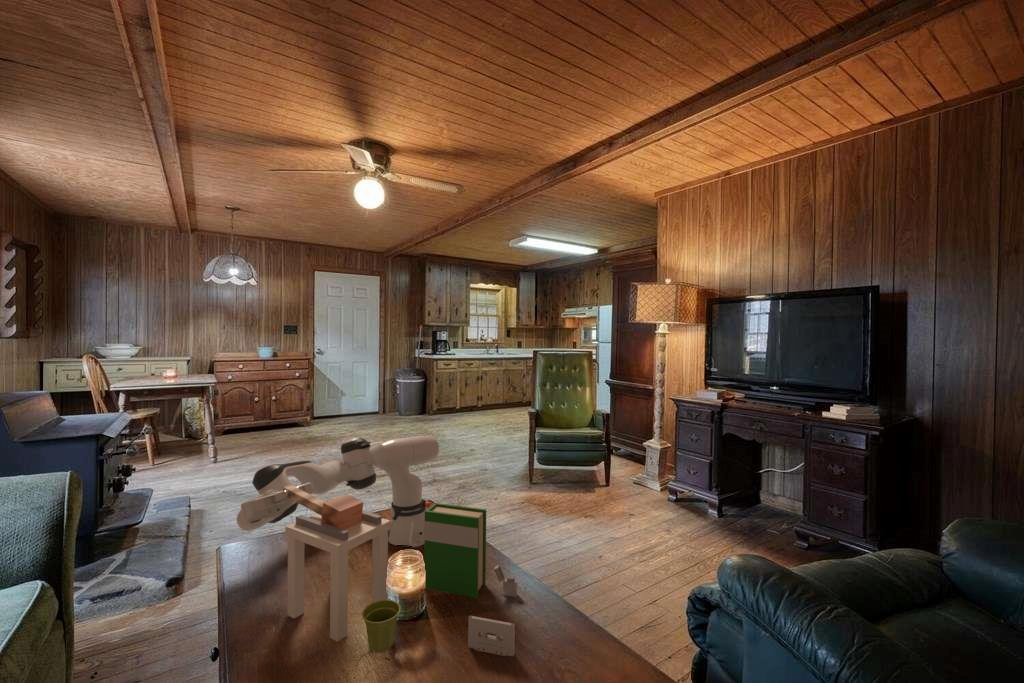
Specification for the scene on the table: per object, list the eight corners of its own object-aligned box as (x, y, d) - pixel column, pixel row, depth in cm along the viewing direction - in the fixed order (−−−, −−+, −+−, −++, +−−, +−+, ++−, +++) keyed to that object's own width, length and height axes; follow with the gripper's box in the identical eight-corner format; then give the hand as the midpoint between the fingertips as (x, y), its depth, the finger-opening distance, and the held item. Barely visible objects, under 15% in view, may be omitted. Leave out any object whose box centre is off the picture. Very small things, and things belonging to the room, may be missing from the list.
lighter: (517, 594, 135) (517, 568, 135) (515, 597, 133) (516, 570, 133) (495, 590, 137) (495, 564, 137) (493, 593, 135) (493, 567, 135)
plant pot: (363, 662, 106) (363, 626, 106) (360, 637, 115) (360, 604, 115) (403, 651, 110) (403, 616, 110) (397, 628, 118) (397, 596, 118)
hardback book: (485, 585, 140) (486, 509, 139) (477, 598, 133) (478, 518, 132) (434, 575, 145) (435, 502, 144) (424, 588, 138) (424, 511, 137)
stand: (284, 615, 123) (285, 519, 123) (338, 584, 139) (339, 499, 139) (337, 643, 112) (338, 537, 112) (389, 606, 128) (390, 513, 128)
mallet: (274, 497, 134) (275, 478, 133) (298, 489, 141) (300, 471, 140) (337, 532, 119) (339, 511, 119) (361, 522, 126) (363, 501, 126)
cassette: (467, 649, 111) (467, 618, 111) (469, 644, 113) (470, 614, 113) (513, 658, 108) (513, 627, 108) (515, 653, 110) (515, 622, 110)
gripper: (303, 504, 150) (326, 490, 144) (240, 526, 132) (264, 511, 126) (297, 486, 151) (320, 472, 145) (235, 505, 133) (258, 490, 127)
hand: (293, 490), depth 135 cm, fingers closed on mallet, 2 cm apart
